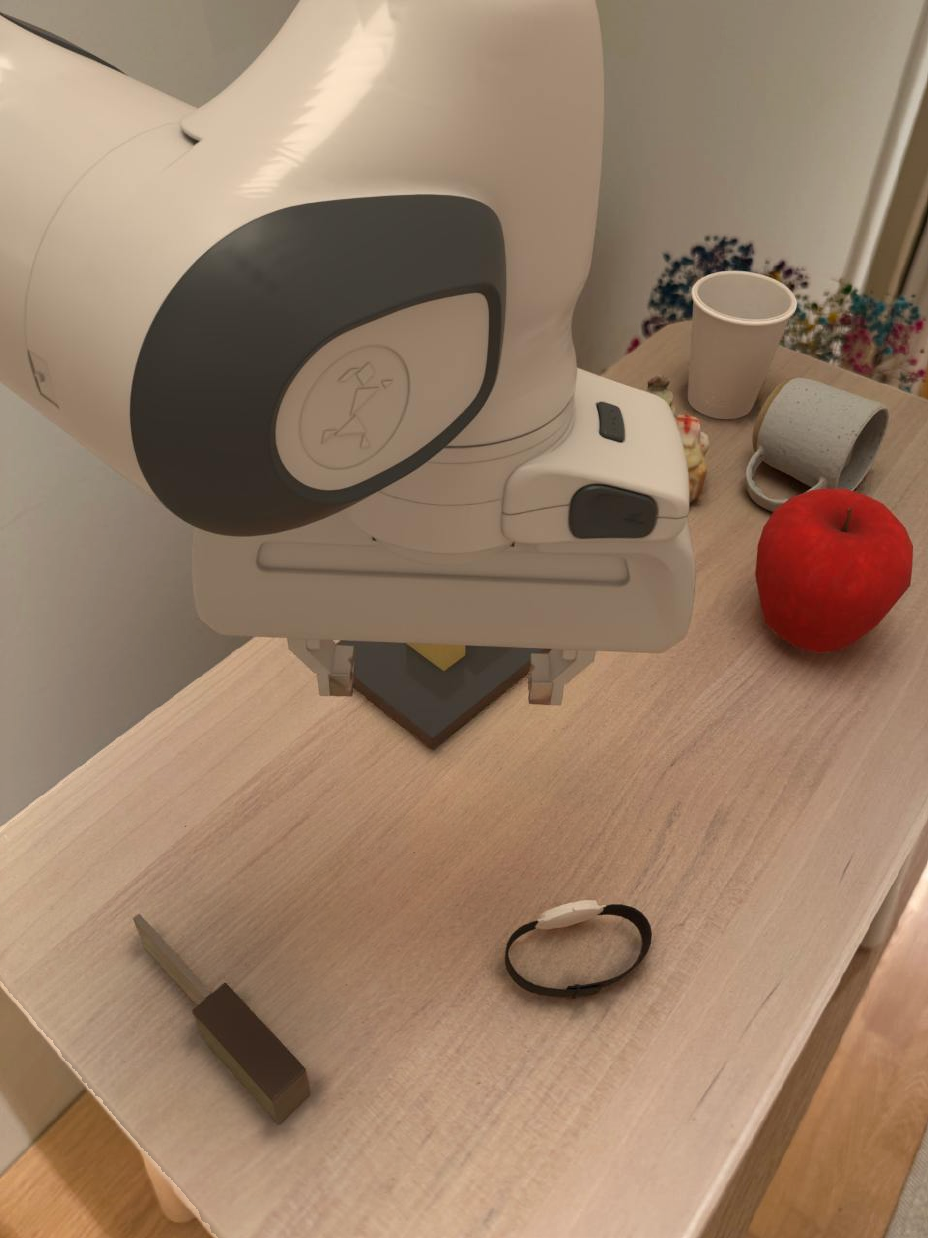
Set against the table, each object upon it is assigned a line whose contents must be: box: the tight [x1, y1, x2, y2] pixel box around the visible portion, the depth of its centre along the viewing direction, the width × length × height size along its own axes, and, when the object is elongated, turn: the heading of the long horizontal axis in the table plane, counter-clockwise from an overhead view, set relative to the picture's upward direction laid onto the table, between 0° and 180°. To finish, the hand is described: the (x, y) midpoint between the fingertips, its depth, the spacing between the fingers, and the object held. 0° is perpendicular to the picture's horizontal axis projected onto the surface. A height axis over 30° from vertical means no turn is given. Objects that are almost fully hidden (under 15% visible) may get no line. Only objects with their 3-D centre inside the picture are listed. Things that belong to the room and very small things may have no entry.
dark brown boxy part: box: [132, 913, 312, 1125], centre depth 52 cm, size 2×12×3 cm, turn 46°
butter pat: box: [406, 643, 466, 671], centre depth 68 cm, size 2×4×3 cm, turn 46°
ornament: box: [642, 374, 711, 503], centre depth 80 cm, size 8×6×10 cm
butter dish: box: [335, 640, 552, 750], centre depth 72 cm, size 19×10×1 cm, turn 136°
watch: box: [504, 899, 653, 999], centre depth 54 cm, size 8×5×4 cm, turn 104°
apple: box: [754, 489, 914, 654], centre depth 69 cm, size 10×10×11 cm
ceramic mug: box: [745, 376, 890, 513], centre depth 82 cm, size 11×8×8 cm
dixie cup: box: [687, 270, 798, 420], centre depth 89 cm, size 8×8×10 cm
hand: (440, 690), depth 48 cm, fingers open, 8 cm apart
